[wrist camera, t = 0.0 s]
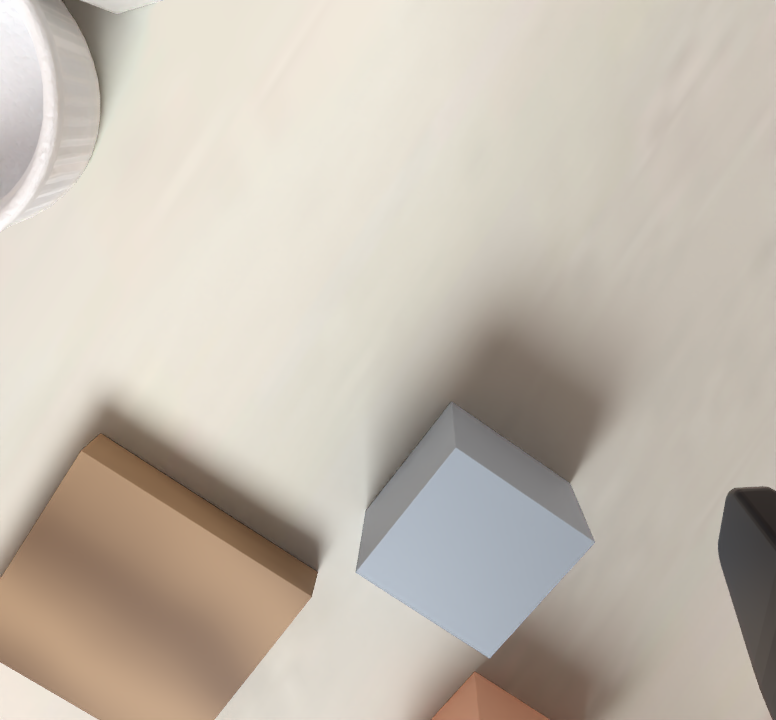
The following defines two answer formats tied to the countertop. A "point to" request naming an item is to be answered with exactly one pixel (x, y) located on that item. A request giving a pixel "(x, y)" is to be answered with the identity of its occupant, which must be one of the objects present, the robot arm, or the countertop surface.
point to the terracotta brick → (485, 703)
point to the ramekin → (43, 106)
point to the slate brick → (472, 532)
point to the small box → (120, 4)
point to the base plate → (143, 594)
